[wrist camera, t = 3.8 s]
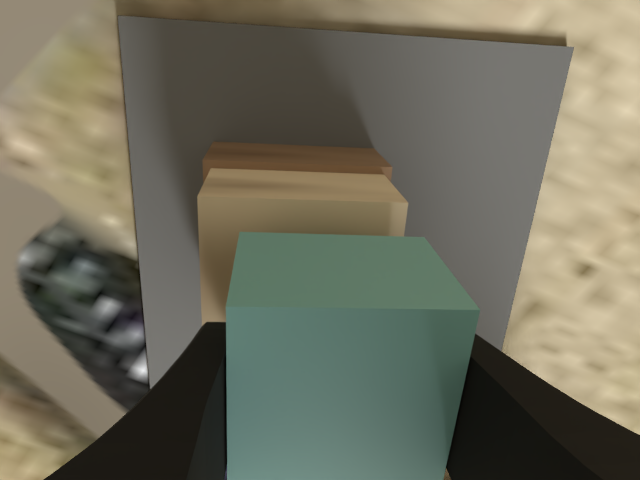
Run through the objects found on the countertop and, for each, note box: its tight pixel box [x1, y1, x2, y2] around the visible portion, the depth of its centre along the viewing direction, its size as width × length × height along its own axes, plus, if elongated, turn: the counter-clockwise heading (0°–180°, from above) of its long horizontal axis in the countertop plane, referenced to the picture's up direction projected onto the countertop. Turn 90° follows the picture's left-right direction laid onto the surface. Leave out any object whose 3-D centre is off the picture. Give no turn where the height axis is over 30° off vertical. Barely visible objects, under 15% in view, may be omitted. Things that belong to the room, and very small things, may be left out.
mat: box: [118, 16, 574, 389], centre depth 20 cm, size 18×16×1 cm
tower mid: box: [197, 168, 408, 326], centre depth 15 cm, size 6×6×3 cm
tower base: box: [203, 142, 392, 184], centre depth 18 cm, size 6×6×3 cm
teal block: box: [226, 232, 480, 480], centre depth 11 cm, size 4×4×4 cm
